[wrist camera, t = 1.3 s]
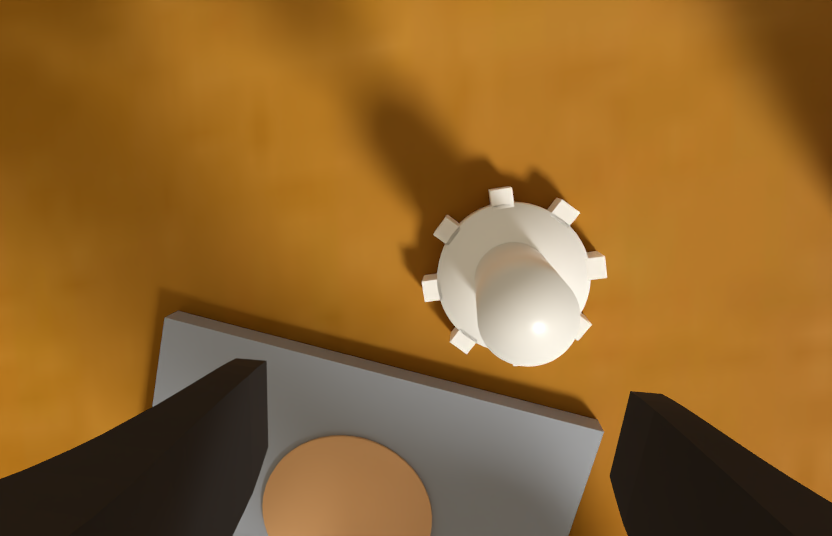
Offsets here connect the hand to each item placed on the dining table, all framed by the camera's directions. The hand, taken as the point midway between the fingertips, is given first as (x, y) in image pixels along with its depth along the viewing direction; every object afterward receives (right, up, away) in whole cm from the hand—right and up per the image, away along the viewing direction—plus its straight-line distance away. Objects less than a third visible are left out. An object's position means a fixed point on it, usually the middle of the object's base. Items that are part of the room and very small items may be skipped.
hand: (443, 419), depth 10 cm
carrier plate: (-4, -11, +13) cm, 18 cm away
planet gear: (+3, +3, +10) cm, 11 cm away
